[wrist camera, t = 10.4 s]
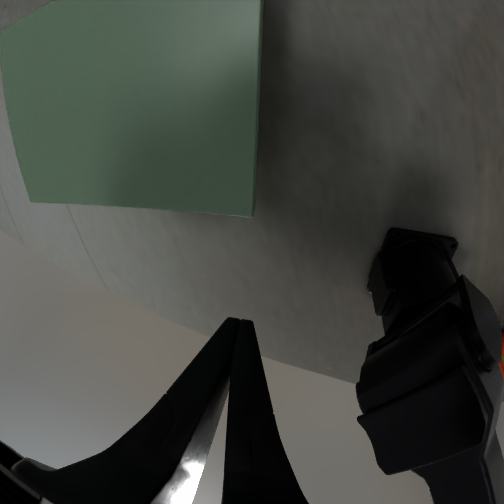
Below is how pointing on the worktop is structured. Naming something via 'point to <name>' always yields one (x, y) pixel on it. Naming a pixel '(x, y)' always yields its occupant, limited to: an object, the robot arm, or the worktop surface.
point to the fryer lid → (137, 103)
